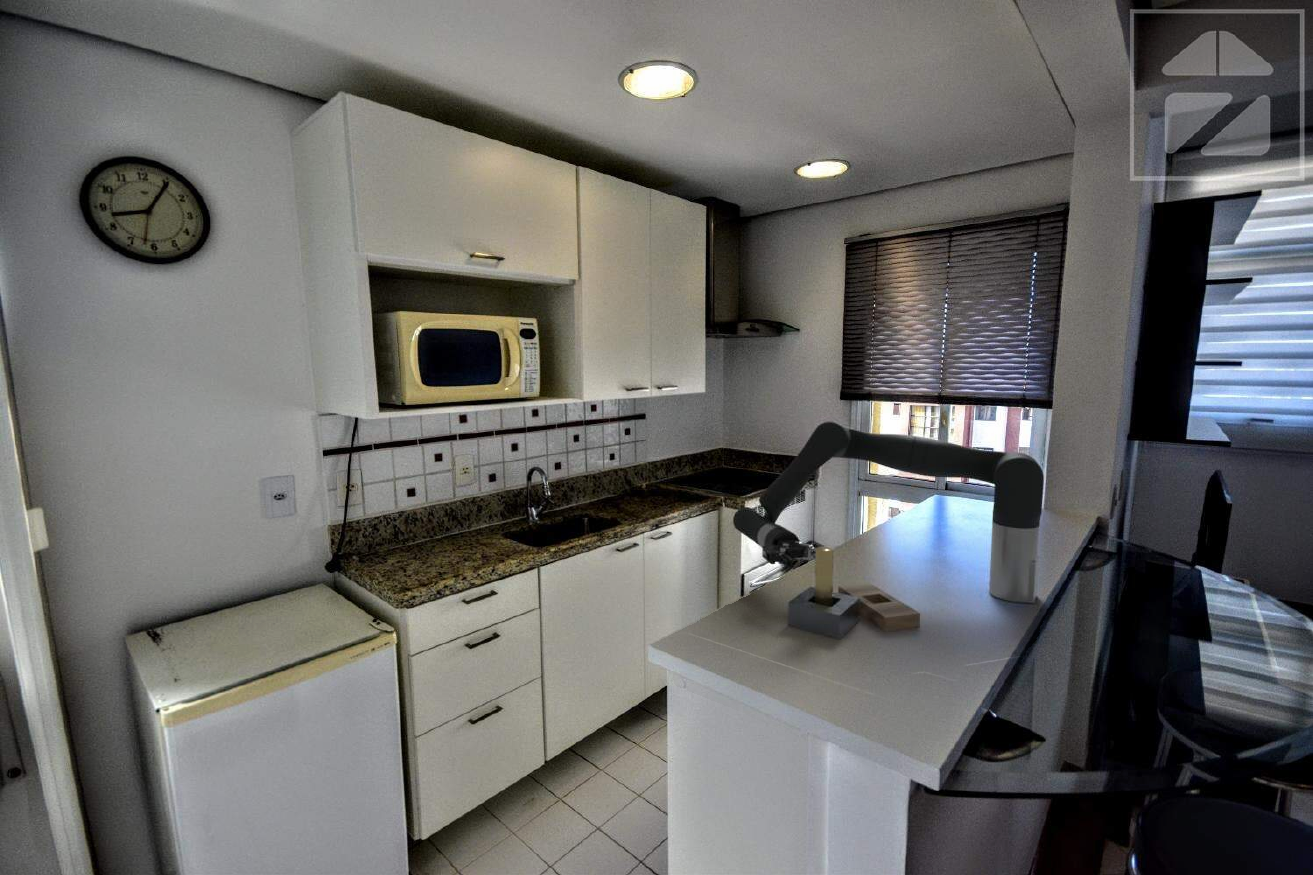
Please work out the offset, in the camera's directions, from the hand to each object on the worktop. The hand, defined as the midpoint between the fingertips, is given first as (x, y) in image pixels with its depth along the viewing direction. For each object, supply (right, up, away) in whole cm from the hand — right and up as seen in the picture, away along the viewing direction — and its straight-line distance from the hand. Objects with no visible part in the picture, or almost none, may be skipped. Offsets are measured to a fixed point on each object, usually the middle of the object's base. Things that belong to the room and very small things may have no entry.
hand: (809, 562), depth 126 cm
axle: (+2, -12, -4) cm, 13 cm away
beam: (+15, -11, 0) cm, 18 cm away
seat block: (+2, -12, -5) cm, 13 cm away
